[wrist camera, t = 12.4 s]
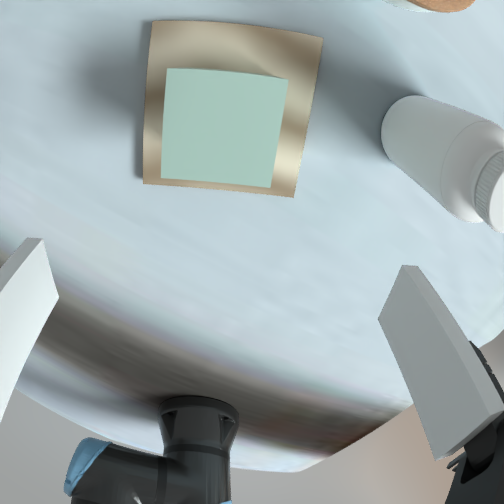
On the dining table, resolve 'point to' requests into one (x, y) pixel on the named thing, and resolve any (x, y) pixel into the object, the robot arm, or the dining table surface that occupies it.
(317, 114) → the dining table surface
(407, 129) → the pill bottle
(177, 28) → the post board
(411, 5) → the lidded jar
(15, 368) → the robot arm
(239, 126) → the mint foam cube
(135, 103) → the dining table surface
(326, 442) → the dining table surface
